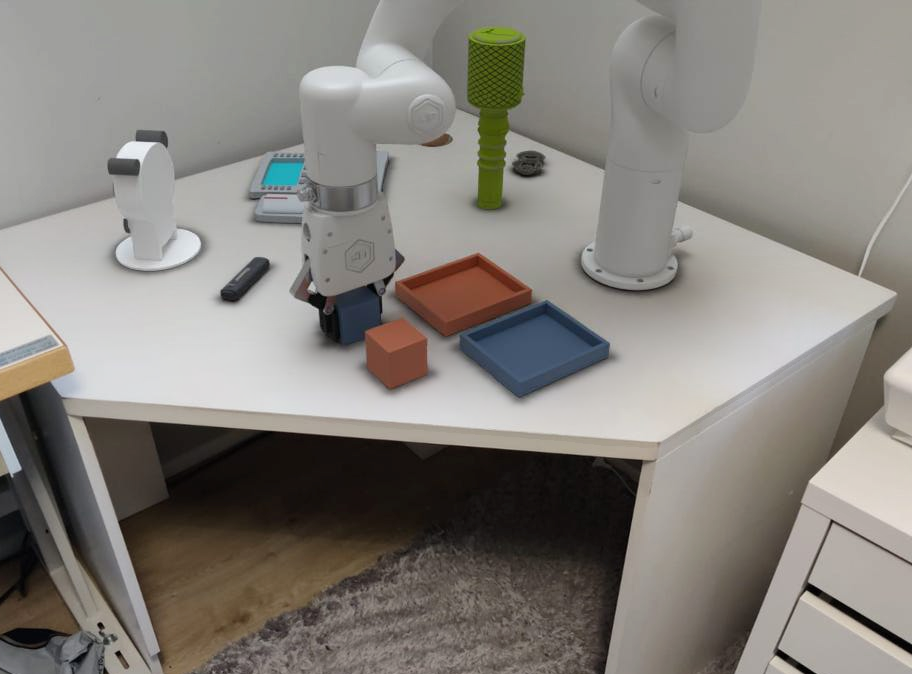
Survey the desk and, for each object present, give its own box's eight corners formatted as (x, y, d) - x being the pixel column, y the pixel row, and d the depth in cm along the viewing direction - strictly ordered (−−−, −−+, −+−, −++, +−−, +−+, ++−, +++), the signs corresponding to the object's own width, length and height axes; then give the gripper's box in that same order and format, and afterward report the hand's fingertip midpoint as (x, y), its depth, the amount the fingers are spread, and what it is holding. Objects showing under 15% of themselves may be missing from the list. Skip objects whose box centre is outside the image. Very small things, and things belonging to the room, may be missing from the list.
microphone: (458, 211, 131) (461, 36, 116) (472, 189, 137) (477, 20, 121) (510, 219, 129) (521, 42, 114) (523, 196, 135) (535, 26, 119)
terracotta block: (403, 352, 103) (402, 316, 100) (427, 374, 100) (427, 337, 97) (366, 367, 101) (364, 331, 98) (390, 389, 98) (388, 353, 95)
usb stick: (255, 263, 119) (253, 253, 118) (272, 267, 119) (271, 256, 118) (218, 299, 112) (216, 289, 111) (237, 303, 112) (235, 292, 111)
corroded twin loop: (547, 157, 146) (548, 151, 145) (540, 178, 140) (540, 172, 139) (517, 154, 147) (518, 148, 146) (508, 174, 141) (509, 168, 140)
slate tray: (545, 313, 110) (547, 299, 109) (608, 357, 103) (610, 343, 101) (459, 348, 104) (459, 334, 103) (519, 397, 97) (520, 383, 96)
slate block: (359, 313, 110) (357, 278, 107) (380, 332, 107) (379, 297, 103) (324, 326, 108) (320, 291, 104) (344, 346, 104) (342, 310, 101)
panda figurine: (136, 225, 128) (113, 124, 118) (212, 230, 127) (195, 128, 117) (102, 268, 118) (74, 162, 109) (185, 273, 117) (164, 166, 108)
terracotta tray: (478, 265, 119) (478, 252, 118) (531, 302, 112) (532, 289, 110) (395, 295, 113) (394, 281, 112) (445, 336, 106) (445, 322, 105)
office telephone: (375, 211, 126) (235, 208, 127) (376, 227, 128) (238, 224, 128) (388, 143, 144) (266, 140, 145) (388, 158, 146) (267, 156, 146)
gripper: (288, 222, 89) (304, 367, 101) (428, 181, 97) (428, 320, 108) (255, 195, 94) (274, 336, 106) (391, 157, 102) (395, 292, 113)
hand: (352, 326), depth 107 cm, fingers closed on slate block, 5 cm apart
